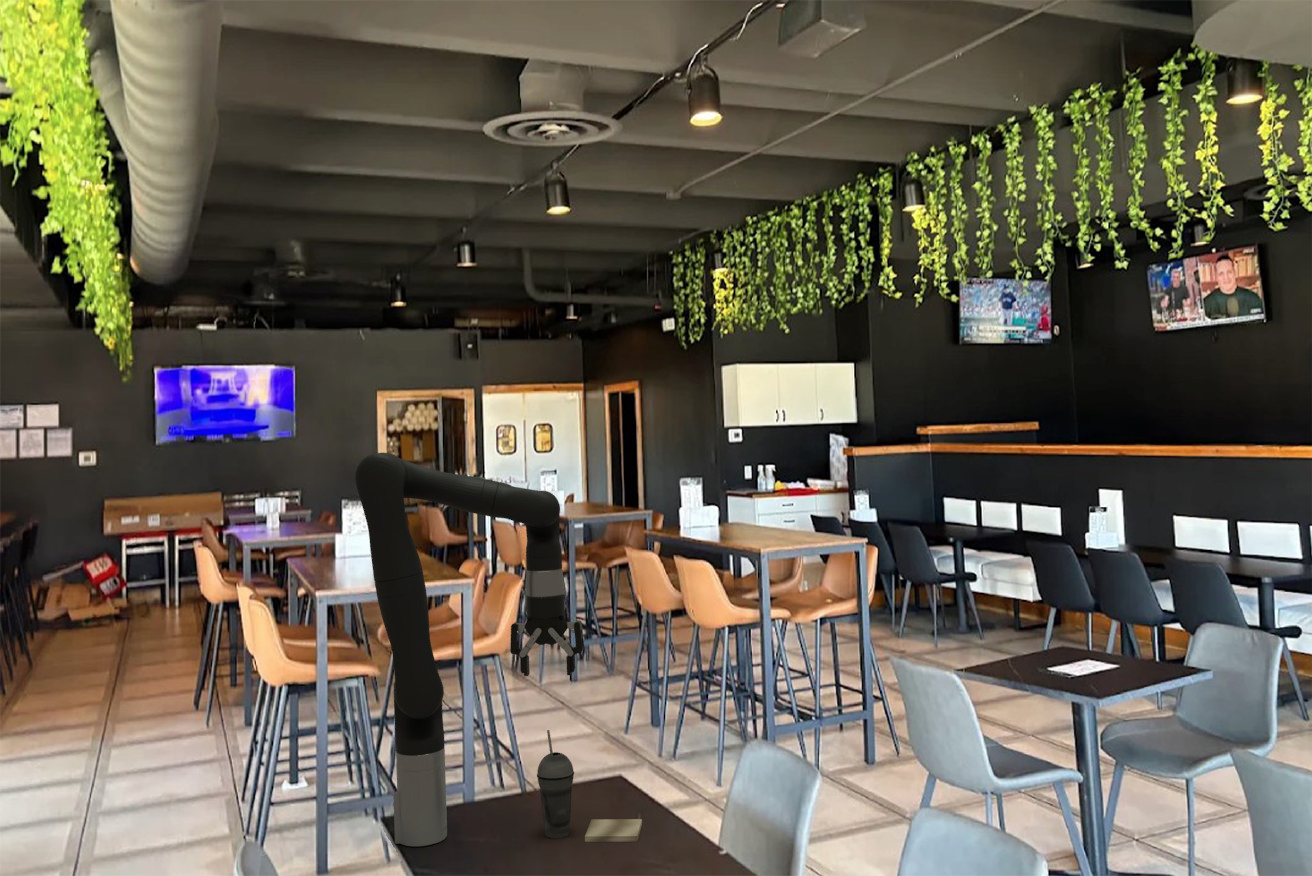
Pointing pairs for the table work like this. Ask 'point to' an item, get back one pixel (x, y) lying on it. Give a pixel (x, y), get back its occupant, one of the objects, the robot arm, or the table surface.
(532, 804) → the table surface
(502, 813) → the table surface
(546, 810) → the beverage cup
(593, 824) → the birch coaster
